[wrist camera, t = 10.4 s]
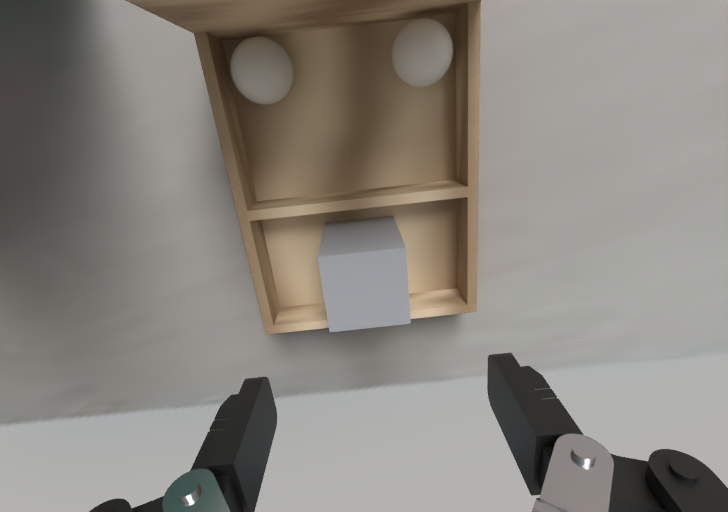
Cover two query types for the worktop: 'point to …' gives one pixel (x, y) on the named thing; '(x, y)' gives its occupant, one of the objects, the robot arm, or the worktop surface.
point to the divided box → (345, 144)
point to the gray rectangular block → (364, 274)
